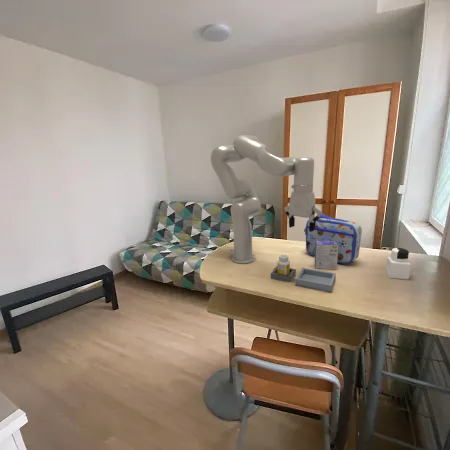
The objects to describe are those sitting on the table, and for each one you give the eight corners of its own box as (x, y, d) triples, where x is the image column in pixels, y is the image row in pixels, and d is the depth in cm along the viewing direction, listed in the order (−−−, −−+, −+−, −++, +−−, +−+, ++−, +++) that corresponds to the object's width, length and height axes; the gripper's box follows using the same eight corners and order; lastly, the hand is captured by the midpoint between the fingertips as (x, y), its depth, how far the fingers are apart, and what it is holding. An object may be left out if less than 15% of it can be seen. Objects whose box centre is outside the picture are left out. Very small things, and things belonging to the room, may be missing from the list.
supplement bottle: (279, 279, 115) (279, 259, 112) (275, 274, 120) (275, 254, 117) (291, 278, 115) (291, 258, 112) (287, 273, 120) (287, 253, 118)
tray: (295, 285, 109) (295, 278, 108) (302, 273, 119) (302, 267, 118) (331, 292, 102) (331, 285, 101) (335, 279, 112) (335, 273, 111)
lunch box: (300, 254, 142) (301, 214, 136) (310, 249, 148) (312, 211, 143) (352, 268, 122) (356, 223, 116) (361, 261, 129) (365, 218, 123)
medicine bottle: (404, 272, 116) (407, 247, 113) (409, 279, 109) (413, 253, 106) (385, 270, 118) (388, 245, 115) (389, 278, 112) (392, 251, 108)
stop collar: (270, 278, 116) (270, 273, 115) (276, 270, 123) (276, 265, 123) (290, 282, 111) (290, 277, 111) (295, 274, 119) (296, 269, 118)
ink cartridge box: (335, 264, 127) (337, 236, 123) (337, 269, 122) (339, 240, 118) (313, 264, 129) (315, 236, 125) (315, 268, 124) (316, 239, 120)
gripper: (280, 188, 111) (279, 227, 115) (318, 191, 98) (315, 234, 103) (290, 186, 116) (289, 223, 120) (327, 189, 103) (325, 230, 108)
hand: (301, 228), depth 111 cm, fingers open, 9 cm apart
